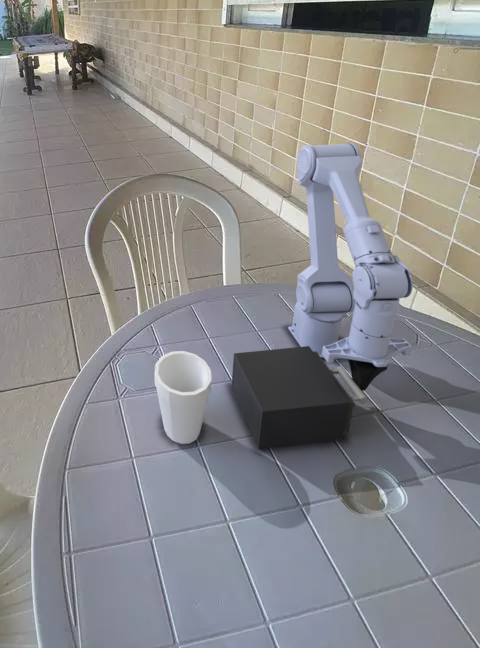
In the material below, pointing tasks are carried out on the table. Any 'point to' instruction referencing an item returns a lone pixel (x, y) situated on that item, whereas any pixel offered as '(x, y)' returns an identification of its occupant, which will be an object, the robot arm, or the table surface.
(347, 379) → the sliding drawer
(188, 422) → the foam cup
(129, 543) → the table surface
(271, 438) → the black drawer box
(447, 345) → the table surface
